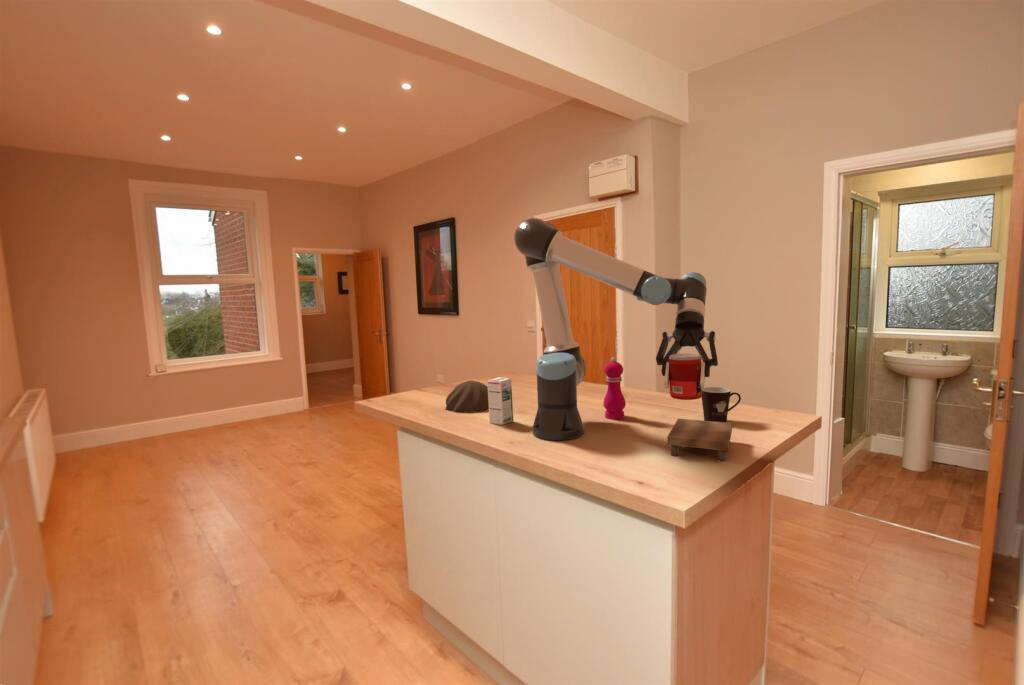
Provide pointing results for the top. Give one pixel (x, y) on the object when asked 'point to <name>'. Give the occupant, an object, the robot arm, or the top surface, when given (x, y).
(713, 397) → the coffee mug
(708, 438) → the walnut shelf
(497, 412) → the syrup box
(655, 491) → the top surface
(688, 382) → the canned food
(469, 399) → the decorative dome
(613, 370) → the pepper mill
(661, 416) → the top surface
